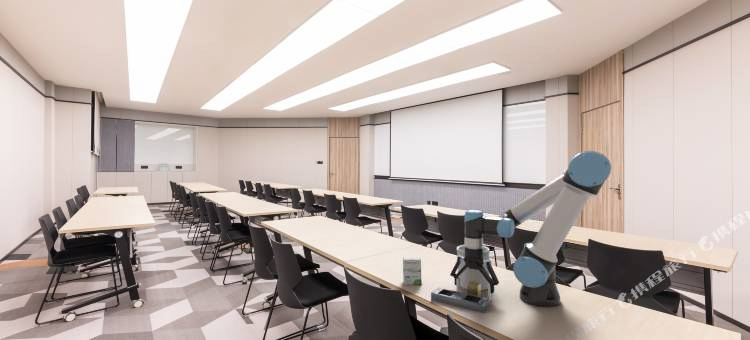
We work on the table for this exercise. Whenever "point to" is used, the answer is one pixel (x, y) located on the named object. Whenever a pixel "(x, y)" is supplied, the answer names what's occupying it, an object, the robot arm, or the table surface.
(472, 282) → the block
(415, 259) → the ink box
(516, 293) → the table surface
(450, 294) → the grey slotted tray
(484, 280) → the utensil holder
